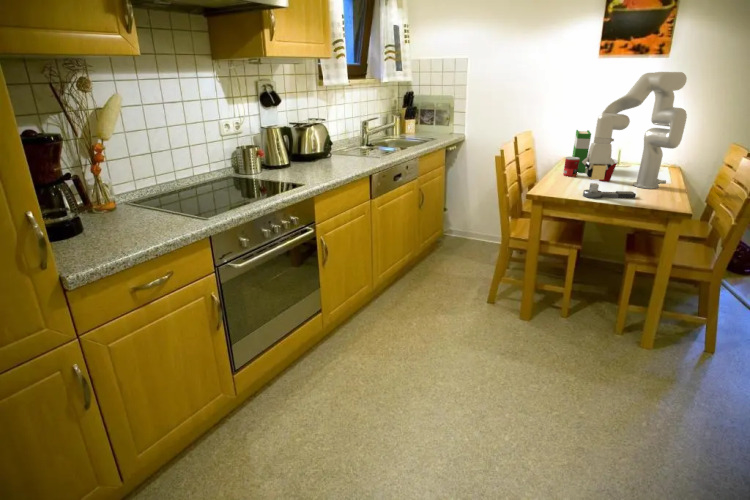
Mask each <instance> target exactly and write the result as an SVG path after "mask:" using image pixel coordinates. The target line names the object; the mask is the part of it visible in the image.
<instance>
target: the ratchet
mask: <svg viewBox="0 0 750 500" xmlns="http://www.w3.org/2000/svg"><path fill="white" fill-rule="evenodd" d="M636 196H637V194H636V193H635V192H634V191H628V190H627V191H626V190H625V191H624V190H623V191H621V190H619V191H618V190H616V191H602V190H599V184H598V183H593V182H591V183H589V189H584V190H583V193H582V197H584V198H587V199H592V200H593V199H594V200H597V199H604V198H605V199H636Z"/></svg>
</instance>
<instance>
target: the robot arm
mask: <svg viewBox="0 0 750 500" xmlns="http://www.w3.org/2000/svg"><path fill="white" fill-rule="evenodd" d="M687 79H688V78H687V75H686V73H684V72H683V71H655V72H646V73H644V74H642V75H641V76H640V77H639V79H637V81H636V82H635V83H634V84H633V86H632V87H631V88H630V90H629V91H628V92H627V93H626V94H625V95H623V96H621V97H619V98H618V99H616V100H614V101H612V102H611V103H610V104H609V105H607V106H606V107H605V109H604V110H603V111H602V113H601V114H600V115H599V116H598V117H597V119H596V126H595V133H594V138H593V142H592V143H591V144H590V145H589V150H588V156H587V158H586V159H584V160H583V161H582V163H583V164H584V165H585V166H586V168H587V172H586V176H587V177H588V178H589V177H591V172H592V170H591V168H592V166H593V165H594V164H604V165H606V171H607V170H608V168H609V167H611V166H612V165H613V164H614V163H615V162H614V160H613V158H612V151H613V150H612V148H613V147H612V144H611V143H613V142H615V138H612V136H613V131H614V130H615V131H622V130H623V131H624V130H625V129H627V128H628V127H629V125H630V122H631V121H630V117H629V116H628V115H626V114H624V113H621V112H623V111H626V110H630V109H634V108H637V107H639V106H641V105H642V104H643V103H644V101H645V100H646V99H647V98H648V96H649V95H650V94H651V93H652V92H653V93H654V103H653V108H652V114H651V119H650V121H651V123H652V124H653V125H655V126H662V127H664V128H661V127H651V128H649V129H647V130H646V131H645V133H644V135H643V150H642V156H641V161H640V163H639V169H638V174H637V179H636V181H634V182H633V183H632V185H633V187H637V188H640V189H648V190H655V189H658V188H660V184H661V185H665V184H667V180H666V179H659V178H658V177H659V173H660V168H661V164H662V161H663V155H664V154H663V149H676V148H677V147H679V145H680V144H681V143H682V142H681V141H682V140H683V136H684V135H683V134H684V132H685V131H684V130H685V128H686V124H687V123H686V122H687V118H688V114H687V111H686V110H685V109H684V108H682V107H676V106H675V107H674V103H675V102H674V101H675V92H676V91H679V90H681V89H683V88H684V87H685V85H686V83H687ZM674 91H675V92H674ZM665 127H668V128H669V129H668V128H665ZM662 148H663V149H662ZM607 164H608V165H607ZM606 171H605V176H606ZM605 176H604V177H605Z"/></svg>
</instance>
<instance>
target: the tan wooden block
mask: <svg viewBox="0 0 750 500" xmlns="http://www.w3.org/2000/svg"><path fill="white" fill-rule="evenodd" d="M591 170H592V172H591V177H588V178H589V179H590V180H598V181H599V180H604V176H605V171H606V165H604V164H594V165H593V166H592V168H591Z"/></svg>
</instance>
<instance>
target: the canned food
mask: <svg viewBox="0 0 750 500" xmlns="http://www.w3.org/2000/svg"><path fill="white" fill-rule="evenodd" d="M579 160H580V158H578V157H572V156H566V157H565V160H564V166H563V167H564V168H563V173H562V174H563V176H564V177H567V176H568V178H574V177H575V178H576V177H577V176H578V173H577V172H578V167H579Z"/></svg>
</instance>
